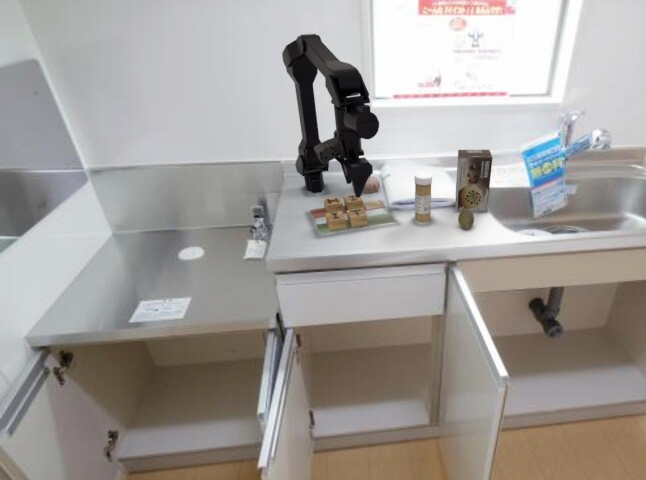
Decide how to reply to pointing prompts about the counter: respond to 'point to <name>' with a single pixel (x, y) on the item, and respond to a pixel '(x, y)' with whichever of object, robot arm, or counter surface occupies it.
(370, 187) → the garlic bulb
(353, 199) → the tile
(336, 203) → the tile
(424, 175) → the sprinkles bottle
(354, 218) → the tile
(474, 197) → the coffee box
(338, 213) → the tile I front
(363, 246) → the counter surface
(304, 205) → the counter surface
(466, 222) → the lime
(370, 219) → the letter board
